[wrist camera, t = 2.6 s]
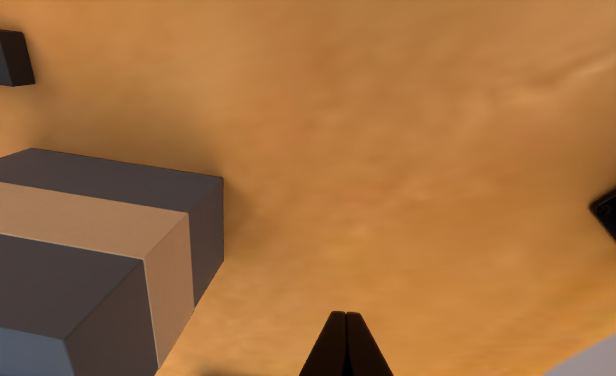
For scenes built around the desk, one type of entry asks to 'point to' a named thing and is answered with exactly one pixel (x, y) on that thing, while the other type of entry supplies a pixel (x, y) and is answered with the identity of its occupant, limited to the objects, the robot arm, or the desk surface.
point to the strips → (14, 60)
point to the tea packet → (100, 262)
